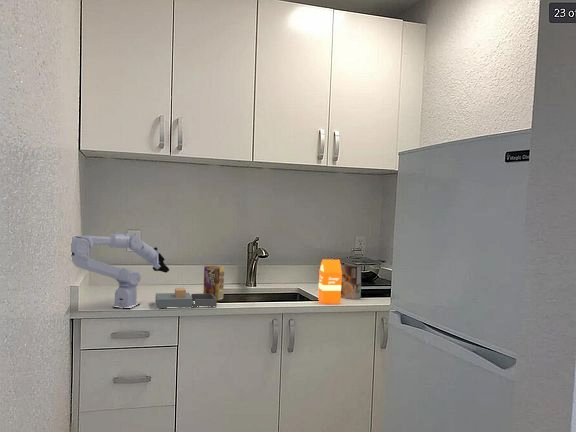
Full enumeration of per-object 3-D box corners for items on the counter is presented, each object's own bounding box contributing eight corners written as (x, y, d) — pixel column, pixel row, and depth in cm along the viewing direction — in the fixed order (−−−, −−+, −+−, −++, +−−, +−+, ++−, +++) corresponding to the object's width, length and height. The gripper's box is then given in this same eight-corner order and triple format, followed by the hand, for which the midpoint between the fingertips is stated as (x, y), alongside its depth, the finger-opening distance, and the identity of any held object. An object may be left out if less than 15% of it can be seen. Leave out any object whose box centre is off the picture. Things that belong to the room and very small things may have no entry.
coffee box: (361, 297, 254) (362, 265, 253) (356, 299, 248) (357, 266, 248) (344, 295, 259) (345, 263, 258) (339, 297, 253) (340, 264, 252)
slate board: (157, 309, 213) (157, 299, 213) (155, 302, 226) (155, 293, 226) (192, 308, 218) (192, 298, 218) (188, 301, 230) (188, 292, 230)
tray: (192, 307, 218) (193, 299, 218) (189, 301, 230) (189, 293, 230) (216, 307, 221) (216, 299, 221) (211, 300, 233) (212, 293, 233)
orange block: (176, 297, 219) (176, 290, 219) (174, 294, 225) (175, 287, 224) (185, 297, 220) (185, 290, 220) (184, 294, 226) (184, 287, 226)
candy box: (223, 299, 238) (224, 266, 237) (218, 300, 234) (219, 267, 233) (208, 296, 242) (209, 264, 241) (202, 298, 238) (203, 265, 238)
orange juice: (318, 299, 244) (319, 258, 243) (335, 299, 246) (337, 258, 245) (322, 303, 237) (324, 260, 236) (340, 303, 238) (342, 260, 238)
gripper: (156, 255, 217) (176, 269, 227) (147, 236, 228) (167, 250, 237) (144, 266, 217) (164, 280, 227) (135, 246, 228) (156, 260, 237)
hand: (165, 265), depth 232 cm, fingers open, 7 cm apart
